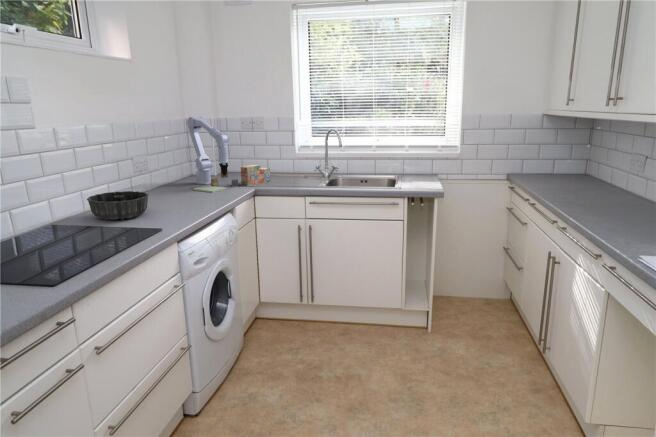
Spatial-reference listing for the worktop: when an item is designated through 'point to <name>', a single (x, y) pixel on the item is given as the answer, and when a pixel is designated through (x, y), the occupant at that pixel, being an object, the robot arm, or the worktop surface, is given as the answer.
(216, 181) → the oak cylinder
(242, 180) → the stack of blocks
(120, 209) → the bundt pan
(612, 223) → the worktop surface
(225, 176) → the walnut block
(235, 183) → the charcoal cube
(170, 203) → the worktop surface
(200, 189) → the sage board
